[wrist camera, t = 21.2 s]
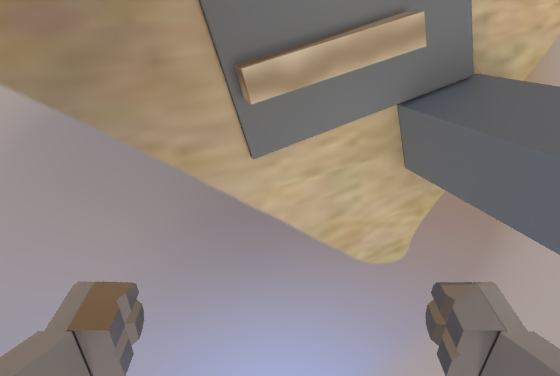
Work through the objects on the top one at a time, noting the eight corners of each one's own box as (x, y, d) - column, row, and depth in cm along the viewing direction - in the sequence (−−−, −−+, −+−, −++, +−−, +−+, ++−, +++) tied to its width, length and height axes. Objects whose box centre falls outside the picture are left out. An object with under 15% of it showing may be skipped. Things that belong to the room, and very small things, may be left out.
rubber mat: (198, -2, 36) (199, -2, 35) (462, -82, 41) (469, -84, 40) (251, 156, 44) (253, 159, 43) (467, 73, 49) (473, 74, 48)
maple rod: (233, 65, 39) (241, 68, 36) (404, 12, 42) (424, 11, 39) (243, 98, 40) (251, 104, 37) (406, 44, 44) (426, 46, 41)
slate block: (397, 104, 48) (625, 180, 25) (477, 73, 49) (757, 117, 27) (405, 167, 52) (607, 281, 29) (478, 137, 54) (722, 221, 31)
